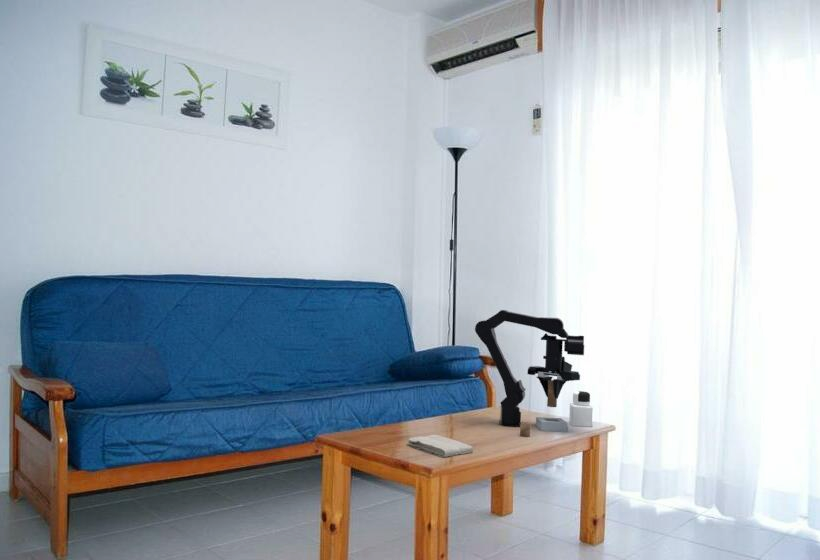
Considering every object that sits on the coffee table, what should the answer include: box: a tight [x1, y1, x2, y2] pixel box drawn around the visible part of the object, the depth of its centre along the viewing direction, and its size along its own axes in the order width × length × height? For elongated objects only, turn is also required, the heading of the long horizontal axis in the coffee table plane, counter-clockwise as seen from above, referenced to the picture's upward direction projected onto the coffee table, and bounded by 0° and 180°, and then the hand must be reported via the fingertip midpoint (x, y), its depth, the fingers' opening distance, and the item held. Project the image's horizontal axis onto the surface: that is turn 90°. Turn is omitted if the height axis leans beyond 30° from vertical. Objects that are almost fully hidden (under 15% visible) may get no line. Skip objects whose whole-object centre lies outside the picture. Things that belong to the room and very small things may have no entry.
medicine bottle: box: [568, 390, 594, 428], centre depth 237 cm, size 7×7×12 cm
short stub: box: [519, 422, 531, 438], centre depth 213 cm, size 3×3×4 cm
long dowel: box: [546, 379, 558, 408], centre depth 227 cm, size 3×3×9 cm
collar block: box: [535, 416, 569, 433], centre depth 227 cm, size 9×9×3 cm
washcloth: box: [406, 434, 474, 458], centre depth 190 cm, size 12×18×3 cm, turn 40°
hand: (552, 397), depth 227 cm, fingers closed on long dowel, 3 cm apart
